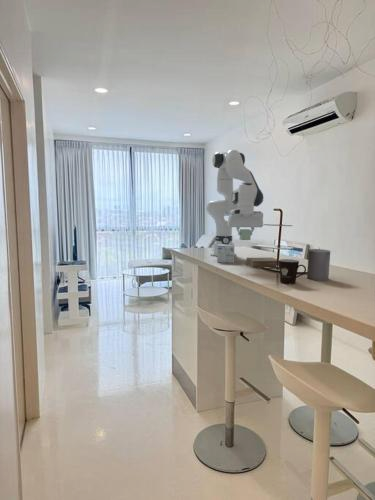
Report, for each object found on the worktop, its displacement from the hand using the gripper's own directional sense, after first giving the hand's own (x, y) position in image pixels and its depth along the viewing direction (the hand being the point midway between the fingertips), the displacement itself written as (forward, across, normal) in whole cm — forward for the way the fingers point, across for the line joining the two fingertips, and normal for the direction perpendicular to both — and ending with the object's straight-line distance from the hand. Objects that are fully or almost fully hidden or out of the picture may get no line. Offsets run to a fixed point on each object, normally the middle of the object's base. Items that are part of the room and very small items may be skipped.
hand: (245, 235), depth 196 cm
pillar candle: (+18, -24, +40) cm, 50 cm away
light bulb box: (+18, +7, -16) cm, 25 cm away
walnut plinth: (+18, -11, +2) cm, 21 cm away
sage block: (+3, 0, 0) cm, 3 cm away
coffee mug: (+18, -6, +49) cm, 53 cm away
